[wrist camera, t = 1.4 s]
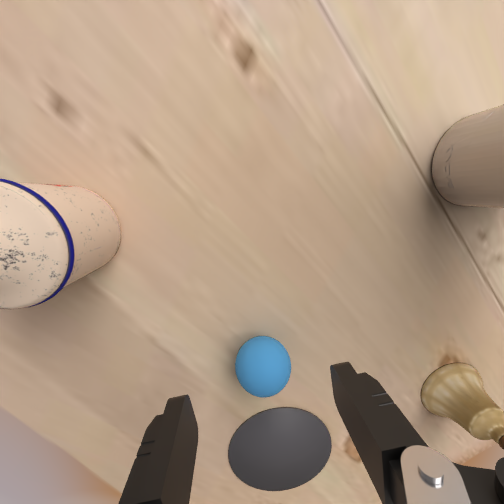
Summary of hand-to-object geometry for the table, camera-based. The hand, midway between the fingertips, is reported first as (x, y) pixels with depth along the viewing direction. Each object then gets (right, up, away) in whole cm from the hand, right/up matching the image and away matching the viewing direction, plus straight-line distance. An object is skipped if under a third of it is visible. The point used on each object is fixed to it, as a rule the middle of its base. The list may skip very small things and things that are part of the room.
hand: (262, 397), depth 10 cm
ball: (+1, -6, +17) cm, 18 cm away
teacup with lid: (-19, +7, +15) cm, 26 cm away
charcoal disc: (+3, -21, +23) cm, 31 cm away
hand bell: (+26, -12, +23) cm, 37 cm away
